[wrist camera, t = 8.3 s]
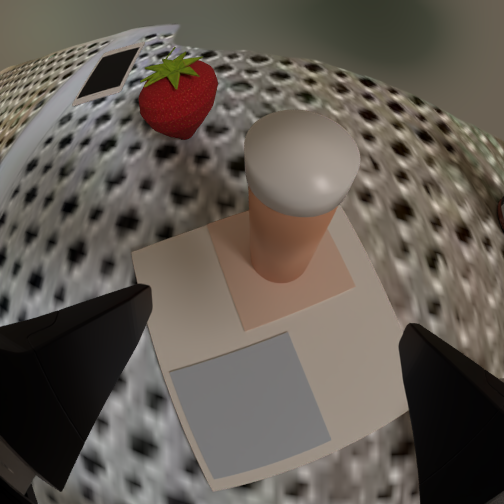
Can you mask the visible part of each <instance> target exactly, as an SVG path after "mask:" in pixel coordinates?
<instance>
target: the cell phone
mask: <svg viewBox="0 0 504 504" xmlns="http://www.w3.org/2000/svg"><path fill="white" fill-rule="evenodd" d="M144 44H145V42H142V43H138V44H134V45H130V46H126V47H123V48H119V49H116V50H112V51H109V52H106V53H104V54H103V56H102V57H101V58H100V60H99V61H98V63H97V64H96V66H95V67H94V69H93V70H92V72H91V73H90V75H89V77H88V78H87V80H86V81H85V83H84V85H83V86H82V88H81V90H80V91H79V93H78V95H77V97H76V98H75V100H74V102H73V104H72V106H77V105H80V104H83V103H86V102H89V101H92V100H96V99H99V98H102V97H106V96H109V95H113V94H116V93H119V92H121V90H122V88H123V86H124V84H125V82H126V80H127V78H128V75H129V73H130V71H131V69H132V67H133V65H134V63H135V61H136V59H137V57H138V56H139V54H140V52H141V50H142V48H143V46H144Z"/></svg>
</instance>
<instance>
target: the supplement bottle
mask: <svg viewBox="0 0 504 504" xmlns="http://www.w3.org/2000/svg"><path fill="white" fill-rule="evenodd" d="M498 217H499V221H500V224H501V226H502V228H503V230H504V197H503V198H502V199H501V200H500V201H499V203H498Z"/></svg>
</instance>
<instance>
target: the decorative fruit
mask: <svg viewBox="0 0 504 504" xmlns="http://www.w3.org/2000/svg"><path fill="white" fill-rule="evenodd" d="M175 48H176V47H174V48H173V50H174V49H175ZM173 50H172V51H173ZM172 51H171V52H170V53H169V55H170V54H171V53H172ZM185 54H186V52H184V53H183V54H181V55H180V56H178V57H177V58H175V59H174V60H167V58H168V56H169V55H168V56H167V57H166V59H162V61H163V64H158V65H154V66H149V67H145V69H147V70H152V71H156V72H155V73H153V74H152V75H150V76H148V77H146V78H145V79H143V80H141V81H140V82H144V81H147V82H146V83H145V85H144V87H143V89H142V91H141V93H140V95H139V106H140V114H141V116H142V117H143V118H144V120H145V121H146V122H147V123H148V124H149V125H150V126H151V128H152V129H154V130H155V131H157V132H160V133H162V134H164V135H167V136H169V137H174V138H180V139H183V140H186V139H189V138H191V137H192V136H193V134H194V133H195V131H196V130H197V128H198V127H199V126H200V125H201V124H202V122H203V121H204V119H205V118H206V116H207V115H208V113H209V111H210V110H211V108H212V106H213V104H214V100H215V95H216V91H217V86H218V81H217V78H216V75H215V72H214V70H213V68H212V67H211V66H210V65H208V64H206V63H204V62H202V61H199V59H201V58H203V57H196V58H189V59H183V58H184V56H185Z"/></svg>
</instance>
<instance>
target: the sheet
mask: <svg viewBox="0 0 504 504" xmlns="http://www.w3.org/2000/svg"><path fill="white" fill-rule="evenodd" d="M131 255H132V260H133V265H134V270H135V274H136V279H137V283H138V284H139V283H142V284H146V285H150V287H151V289H152V303H153V309H152V313H151V315H150V317H149V319H148V322H147V324H148V327H149V331H150V334H151V338H152V341H153V345H154V348H155V351H156V355H157V358H158V361H159V364H160V367H161V370H162V373H163V376H164V379H165V382H166V385H167V388H168V390H169V393H170V396H171V399H172V401H173V404H174V407H175V409H176V412H177V414H178V417H179V419H180V422H181V424H182V427H183V429H184V432H185V434H186V436H187V439H188V441H189V443H190V445H191V448H192V450H193V452H194V454H195V456H196V459H197V461H198V463H199V465H200V467H201V469H202V471H203V473H204V475H205V477H206V479H207V481H208V483H209V485H210V487H211V489H212V491H218V490H223V489H228V488H232V487H236V486H240V485H244V484H248V483H251V482H255V481H258V480H262V479H265V478H268V477H271V476H274V475H277V474H280V473H283V472H286V471H289V470H292V469H295V468H297V467H300V466H302V465H305V464H307V463H310V462H312V461H315V460H317V459H320V458H322V457H324V456H326V455H329V454H331V453H333V452H335V451H337V450H339V449H342V448H344V447H346V446H348V445H350V444H352V443H354V442H356V441H358V440H359V439H361V438H363V437H365V436H367V435H369V434H370V433H372V432H374V431H376V430H378V429H379V428H381V427H383V426H384V425H386V424H388V423H389V422H391V421H393V420H394V419H396V418H397V417H399V416H401V415H402V414H404V413H405V412H407V411H408V410H409V408H408V403H407V399H406V394H405V389H404V384H403V378H402V370H401V362H400V355H399V348H398V345H399V341H400V339H401V337H402V335H403V332H402V329H401V327H400V324H399V322H398V320H397V317H396V315H395V313H394V310H393V308H392V306H391V303H390V301H389V299H388V297H387V295H386V292H385V290H384V288H383V286H382V284H381V282H380V280H379V277H378V275H377V273H376V271H375V269H374V267H373V265H372V263H371V261H370V259H369V257H368V255H367V253H366V251H365V249H364V247H363V245H362V243H361V241H360V240H359V238H358V236H357V234H356V232H355V230H354V228H353V227H352V225H351V223H350V221H349V219H348V217H347V216H346V214H345V212H344V210H343V209H342V207H341V205H339V206H338V207H337V210H336V212H335V214H334V216H333V218H332V220H331V222H330V224H329V226H328V228H327V230H326V232H325V234H324V236H323V237H322V239H321V241H320V243H319V245H318V247H317V249H316V251H315V253H314V255H313V257H312V259H311V261H310V263H309V264H308V266H307V268H306V270H305V271H304V273H303V274H302V275H301V276H300V277H299V278H297V279H296V280H294V281H291V282H288V283H274V282H270V281H268V280H266V279H264V278H263V277H261V276H260V275H259V274H258V273H257V272H256V270H255V269H254V267H253V265H252V262H251V253H250V221H249V210H248V211H245V212H242V213H239V214H236V215H233V216H230V217H227V218H224V219H221V220H218V221H215V222H212V223H209V224H207V225H205V226H202V227H200V228H197V229H194V230H191V231H188V232H185V233H183V234H180V235H177V236H174V237H171V238H169V239H166V240H163V241H160V242H158V243H155V244H152V245H149V246H147V247H144V248H141V249H139V250H136V251H133V252H131Z"/></svg>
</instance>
